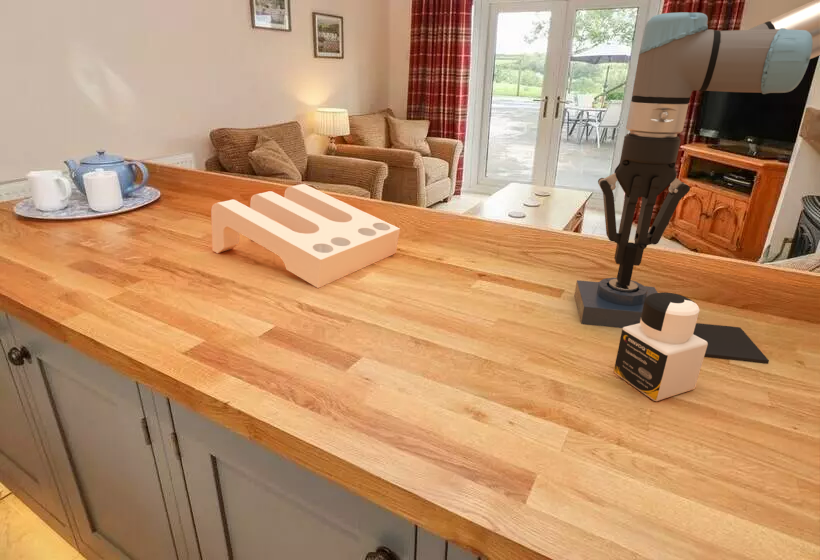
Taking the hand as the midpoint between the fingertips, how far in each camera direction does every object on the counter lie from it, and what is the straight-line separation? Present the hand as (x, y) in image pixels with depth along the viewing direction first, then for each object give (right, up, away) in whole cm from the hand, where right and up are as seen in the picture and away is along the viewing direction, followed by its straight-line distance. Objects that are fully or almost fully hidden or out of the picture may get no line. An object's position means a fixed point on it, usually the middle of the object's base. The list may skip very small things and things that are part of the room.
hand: (623, 282), depth 81 cm
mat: (+11, -9, -6) cm, 16 cm away
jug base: (0, -5, +2) cm, 6 cm away
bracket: (-58, +6, +28) cm, 65 cm away
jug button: (0, -2, +1) cm, 2 cm away
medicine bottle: (-3, -13, -16) cm, 21 cm away
